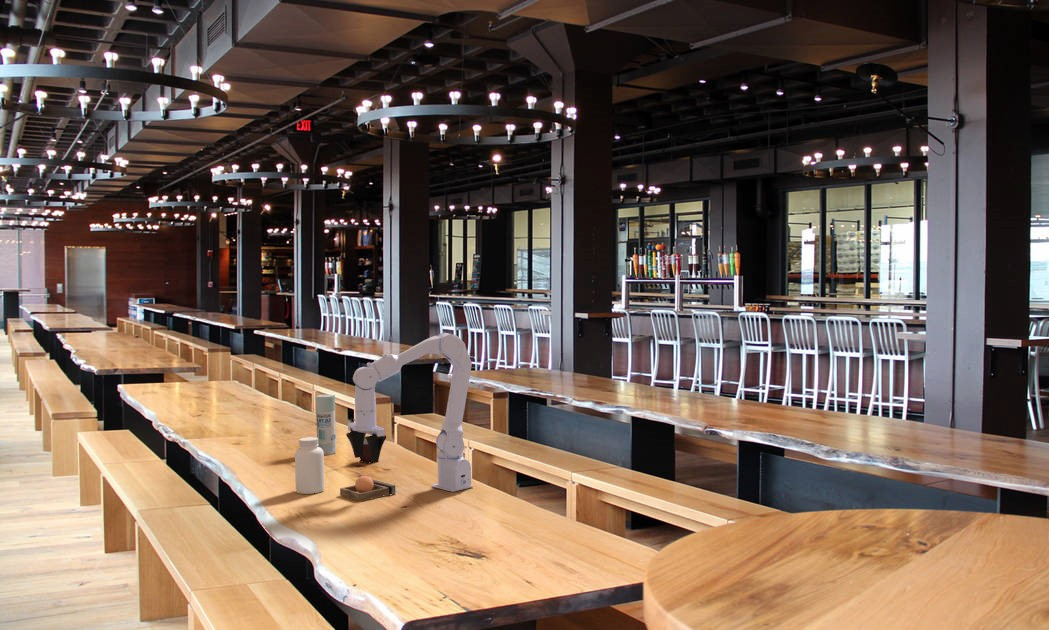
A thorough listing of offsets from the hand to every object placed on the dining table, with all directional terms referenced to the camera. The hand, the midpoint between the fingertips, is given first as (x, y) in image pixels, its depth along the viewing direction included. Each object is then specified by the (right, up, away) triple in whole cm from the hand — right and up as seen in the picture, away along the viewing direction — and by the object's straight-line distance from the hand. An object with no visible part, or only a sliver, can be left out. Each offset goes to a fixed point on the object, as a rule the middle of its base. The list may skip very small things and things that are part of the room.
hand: (366, 459), depth 242 cm
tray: (0, -10, -1) cm, 10 cm away
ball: (0, -10, -1) cm, 10 cm away
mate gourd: (-7, -8, +43) cm, 44 cm away
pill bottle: (-17, -10, +4) cm, 20 cm away
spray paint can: (-24, -8, +58) cm, 64 cm away
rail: (+3, -10, +4) cm, 11 cm away
